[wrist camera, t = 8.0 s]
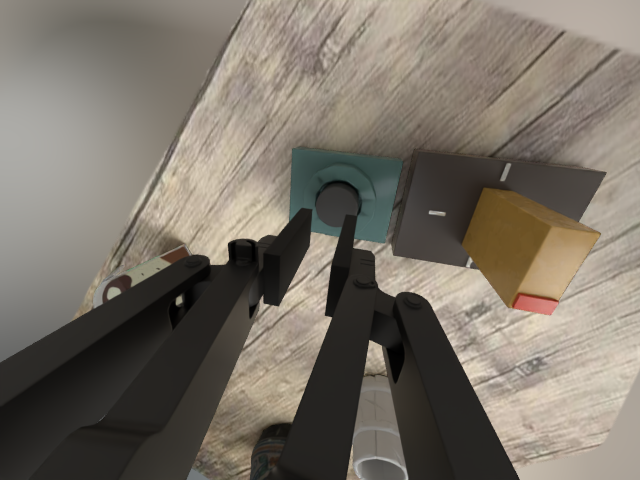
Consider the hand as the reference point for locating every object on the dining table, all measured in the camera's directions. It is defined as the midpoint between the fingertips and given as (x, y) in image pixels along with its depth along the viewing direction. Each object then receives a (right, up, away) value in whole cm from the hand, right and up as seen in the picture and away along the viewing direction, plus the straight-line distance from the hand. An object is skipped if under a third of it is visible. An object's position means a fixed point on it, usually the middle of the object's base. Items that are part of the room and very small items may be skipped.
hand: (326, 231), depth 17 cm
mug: (+10, -22, +20) cm, 32 cm away
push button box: (+2, +4, +9) cm, 10 cm away
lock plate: (+15, +2, +8) cm, 17 cm away
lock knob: (+14, +1, +5) cm, 15 cm away
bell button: (+1, +3, +6) cm, 7 cm away
